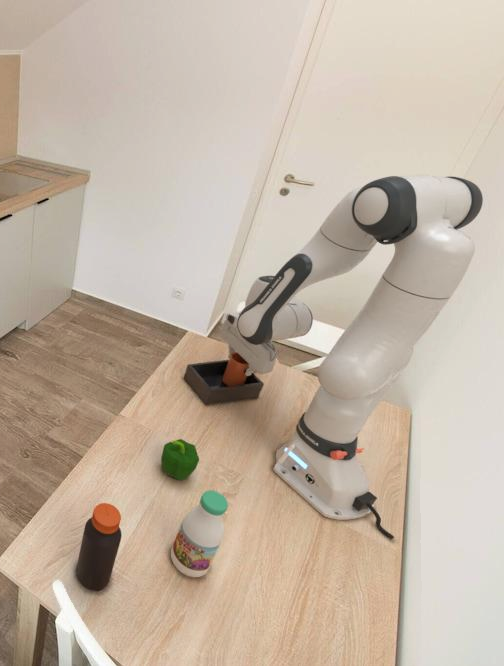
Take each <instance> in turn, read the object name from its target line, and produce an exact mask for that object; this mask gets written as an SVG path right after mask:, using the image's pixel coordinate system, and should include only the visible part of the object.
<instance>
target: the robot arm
mask: <svg viewBox="0 0 504 666" xmlns="http://www.w3.org/2000/svg"><path fill="white" fill-rule="evenodd" d="M483 197H484V196H483V193H482V190H481V189H480V187H479V186H478V185H477V184H475V183H474V182H472V181H471V180H468V179H466V178H462V177H458V176H439V175H438V176H437V175H430V174H411V175H401V176H398V175H391V176H385V177H381V178H377V179H374V180H372V181H370V182H368V183H366V184H365V185H363V186H359V187H355V188H354V189H352V190H351V191H349V192H348V193H347V194H346V195H345V196H343V198H342V199H341V200H340V201H339V202H338V203H337V204H336V205H335V206H334V207H333V209H331V211H330V213H329V214H328V215H327V217H326V218H325V219H324V220H323V222H322V224H321V225H320V227H319V228H318V229H317V231H316V232H315V234H314V235H313V236H312V237H311V239H310V240H309V241H308V242H306V244H305V245H304V246H303V247H302V248H301V249H300V250H299V251H298V252H297V253H295V255H293V256H292V257H291V258H290V259H289V260H287V261H286V262H285V263H284V265H283V266H281V268H280V269H279V270H278V271H277V273H276V274H275V275H263V276H259V277H257V278H256V279H255V280H254V281H253V283H252V285H251V287H250V288H249V291H248V293H247V296H246V299H245V302H244V308H243V309H242V310H241V311H233V312H227V313H226V315H225V320H224V321H223V323H222V325H221V328H220V338H222V340H224V342H226V343H227V345H228V347H227V348H228V356H227V358H228V360H229V359H230V356H231V354H232V353H235V352H237V353H238V354H239V355H240V356H241V357H242V358H244V359H245V360H246V361H247V362H248V363H249V367H250V368H244V371H243V373H244V374H245V375H246V376H250V375H251V374H252V373H253V372H257V373H258V374H260V375H263V374H270V373H272V372H273V370H274V367H275V366H276V365H275V364H276V362H277V356H278V351H277V349H276V345H275V343H272V342H276V341H285V340H290V339H295V338H300V337H303V336H306V335H307V334H308V333H309V332H310V330H311V329H312V327H313V322H314V317H313V313H312V311H311V309H310V308H309V306H308V305H306V304H305V303H304V302H302V301H300V300H299V299H298V297H296V295H297V294H298V293H299V292H300V291H302V290H304V289H305V288H307V287H310V286H312V285H314V284H316V283H319V282H322V281H325V280H329V279H331V278H334V277H338V276H341V275H344V274H347V273H349V272H350V271H352V270H353V269H355V268H356V267H357V266H358V265H360V264H361V263H362V262H363V261H364V260H365V259H366V257H367V256H368V255H369V254H370V253H371V252H372V250H373V249H374V247H375V246H376V245H377V243H379V244H381V245H384V246H386V245H393V247H394V254H393V256H392V257H391V260H390V262H389V263H388V264H387V267H386V269H384V272H383V273H382V275H381V277H380V278H379V280H378V281H377V283H376V285H375V287H374V288H373V290H372V292H371V294H370V295H369V297H368V298H367V300H366V301H365V303H364V305H363V306H362V308H361V309H360V311H358V313H357V314H356V316H354V318H353V320H351V322H350V324H349V325H348V326H347V327H346V329H345V330H344V331H343V333H342V334H341V336H340V337H339V338H338V340H337V341H336V342H335V344H334V345H333V346H332V348H331V350H330V351H329V352H328V353H327V355H326V356H325V357H324V358H323V360H322V362H321V363H320V365H319V366H318V369H317V374H316V375H317V379H318V383H319V384H320V386H319V387H318V389H317V390H316V392H315V393H314V396H313V397H312V398H311V401H310V402H309V404H308V407H307V409H306V410H305V412H303V413H302V414H301V416H300V418H299V420H298V421H297V423H296V425H295V430H294V431H293V433H292V435H291V436H290V437H289V438H288V439H287V441H286V442H285V443H284V444H283V445H282V446H280V447H279V448H278V449H277V450H276V453H275V464H274V466H273V468H272V470H273V472H274V473H275V474H276V475H277V476H279V478H281V480H283V481H284V482H285V483H286V484H287V485H288V486H289V487H291V488H292V489H293V491H295V492H296V493H297V494H299V496H300V497H302V498H303V499H304V500H305V501H306V502H307V503H309V505H311V506H312V507H313V509H315V510H316V511H317V512H318V513H320V514H321V515H322V516H324V517H325V518H329V519H332V520H341V521H342V520H343V521H345V520H346V521H348V520H349V521H350V520H354V519H355V520H356V519H359V518H363V517H365V516H368V515H369V514H370V513H371V512H372V514H373V515H374V517H375V526H376V528H377V529H378V531H380V532H381V533H382V534H383V535H385V536H386V537H388V538H389V539H391V540H393V539H394V538H395V536H394V535H393V534H391V533H390V532H388V531H387V530H386V529H384V528H383V527H382V525H381V522H382V518H381V516H380V515H379V513H378V511H377V510H376V508H375V502H376V501H377V499H378V497H377V496H376V495H375V494H373V492H370V491H369V490H370V480H369V479H368V477H367V475H366V469H365V467H364V466H363V465H362V464H361V462H360V460H359V458H358V455H357V454H361V453H363V452H364V450H365V448H364V447H362V448H358V440H359V439H358V437H359V434H360V433H361V431H362V430H363V428H364V426H365V425H366V423H367V421H368V420H369V418H370V417H371V415H372V414H373V413H374V411H375V410H376V408H377V407H378V406H379V405H380V403H381V402H382V401H383V399H384V398H385V397H386V396H387V394H388V393H389V392H390V390H391V389H392V387H393V386H394V385H395V383H396V382H397V380H398V379H399V378H400V376H401V375H402V374H403V372H404V370H405V369H406V368H407V366H408V365H409V363H410V362H411V359H412V358H413V354H414V346H415V345H416V344H417V343H418V341H419V340H420V339H421V338H422V337H423V336H424V335H425V334H426V332H427V331H428V330H429V328H430V327H431V326H432V325H433V323H434V321H436V319H437V317H438V316H439V315H440V313H441V311H442V310H443V308H444V307H445V306H446V304H447V303H448V302H449V301H450V299H451V297H452V296H453V295H454V293H455V292H456V291H457V288H458V287H459V285H460V284H461V282H462V280H463V278H464V277H465V275H466V272H467V271H468V268H469V267H470V264H471V262H472V259H473V257H474V255H475V251H476V250H475V248H476V246H475V243H474V241H473V239H472V238H471V237H470V236H468V235H467V234H466V233H465V232H463V231H462V230H459V229H462V228H465V227H466V226H468V225H470V224H471V223H472V222H473V221H474V220H475V219H476V218H477V217H478V215H479V214H480V212H481V210H482V207H483V203H484V202H483V201H484V199H483ZM254 370H256V371H254Z"/></svg>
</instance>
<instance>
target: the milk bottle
mask: <svg viewBox="0 0 504 666" xmlns="http://www.w3.org/2000/svg"><path fill="white" fill-rule="evenodd" d="M228 506H229V502H228V500H227V499H226V497H225V496H224V495H223V494H222V493H220V492H218V491H216V490H206V491H204V492H203V493H202V495H201V497H200V500H199V503H198V504H197V505H196V506H194V507H192V508H191V509H190V510H189V511H188V512H187V513H186V514H185V515H184V517H183V519H182V521H181V523H180V526H179V528H178V531H177V533H176V536H175V539H174V541H173V544H172V547H171V550H170V558H171V561H172V563H173V565H174V567H175V568H176V569H177V570H178V571H179V572H180V573H182V574H183V575H185V576H187V577H191V578H198V577H203V576H205V575H206V574H207V573H208V571H209V570H210V568H211V566H212V564H213V561H214V560H215V557H216V555H217V553H218V551H219V550H220V547H221V545H222V542H223V539H224V536H225V523H224V519H223V516H225V514H226V512H227V509H228Z"/></svg>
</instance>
